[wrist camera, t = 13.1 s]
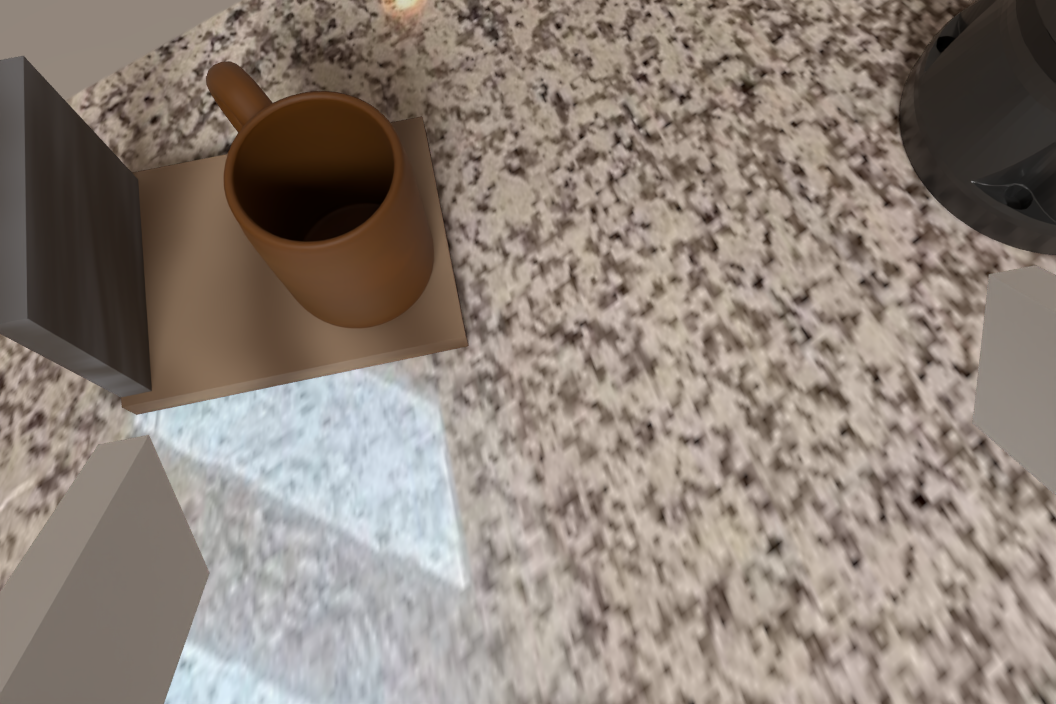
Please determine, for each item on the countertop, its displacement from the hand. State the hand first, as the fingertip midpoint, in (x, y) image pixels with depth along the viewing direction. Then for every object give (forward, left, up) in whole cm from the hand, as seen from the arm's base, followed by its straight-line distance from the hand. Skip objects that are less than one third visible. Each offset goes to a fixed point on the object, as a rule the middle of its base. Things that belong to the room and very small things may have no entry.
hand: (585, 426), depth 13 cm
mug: (+8, -18, -25) cm, 32 cm away
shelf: (+11, -18, -27) cm, 34 cm away
